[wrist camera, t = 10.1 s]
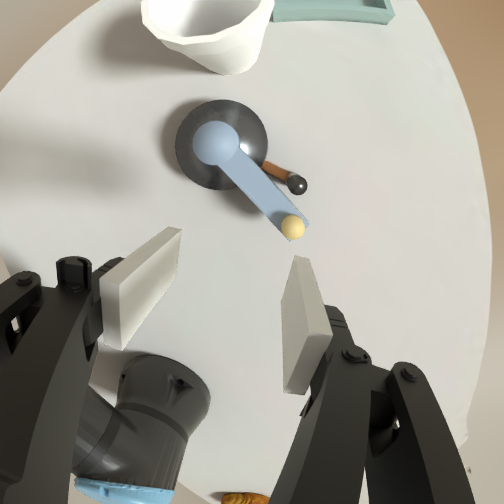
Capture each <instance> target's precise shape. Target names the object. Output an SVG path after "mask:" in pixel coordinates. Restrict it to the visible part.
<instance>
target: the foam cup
mask: <svg viewBox="0 0 504 504" xmlns="http://www.w3.org/2000/svg"><path fill="white" fill-rule="evenodd" d="M273 7H274V0H142V2H141V12H142V22H143V24H144V25H145V26H146V27H147V28H148V29H149V30H150V31H151V32H152V33H153V34H154V35H155V36H156V37H157V38H158V39H159V40H160V41H161V42H162V43H163V44H164V45H165V46H166V47H167V48H168V49H171V50H175V51H178V52H181V53H182V54H184V55H186V56H187V57H189V58H191V59H193V60H194V61H196V62H198V63H199V64H201V65H202V66H204V67H206V68H207V69H209V70H211V71H213V72H216V73H218V74H221V75H237V74H239V73H241V72H244V71H246V70H248V69H249V68H250V67H251V66H252V65H253V64H254V63H255V62H256V61H257V58H258V55H259V51H260V48H261V44H262V40H263V36H264V32H265V28H266V25H268V22H269V19H270V16H271V13H272V10H273Z"/></svg>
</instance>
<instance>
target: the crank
mask: <svg viewBox="0 0 504 504" xmlns="http://www.w3.org/2000/svg"><path fill="white" fill-rule="evenodd" d="M193 150H194V153H195V155H196V156H197V157H198V159H200V160H201V161H202V162H204V163H206V164H209V165H218V166H219V167H220V168H221V169H222V170H223V171H224V172H225V173H226V174H227V175H228V176H229V177H230V178H231V179H232V181H233V182H234V183H235V184H236V185H237V186H238V187H239V188H240V189H241V190H242V191H243V192H244V193H245V194H246V195H247V196H248V197H249V198H250V200H251V201H252V202H253V203H254V204H255V205H256V206H257V207H258V208H259V209H260V210H261V211H262V212H263V213H264V215H265V216H266V217H267V218H268V219H269V220H270V221H271V222H272V223H273V224H274V225H275V226H276V228H277V229H278V230H279V231H280V232H281V233H282V234H283V235H284V236H285V237H286V238H287V240H288V241H289V242H290V241H291V240H295V239H298V238H300V237H301V236H302V235H303V233H304V231H305V228H306V227H307V226H309V223H308V221H307V219H306V218H305V217H304V216H303V215H302V214H301V212H300V211H299V210H298V209H297V208H296V207H295V206H294V205H293V203H292V202H291V201H290V200H289V199H288V198H287V197H286V196H285V195H284V193H283V192H282V191H281V190H280V189H279V188H278V187H277V186H276V185H275V184H274V182H273V181H272V180H271V179H270V178H269V177H268V176H267V175H266V174H265V173H264V172H263V171H262V170H261V168H260V167H259V166H258V165H257V164H256V163H255V162H254V161H253V160H252V159H251V158H250V157H249V156H248V155H247V154H246V153H245V152H244V151H243V150H242V149H241V148H240V137H239V135H238V133H237V132H236V130H235V129H234V128H232V127H231V126H230V125H228V124H227V123H224V122H221V121H210V122H207V123H205V124H203V125H202V126H201V127H200V128H199V129H198V130H197V131H196V133H195V135H194V138H193Z"/></svg>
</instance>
